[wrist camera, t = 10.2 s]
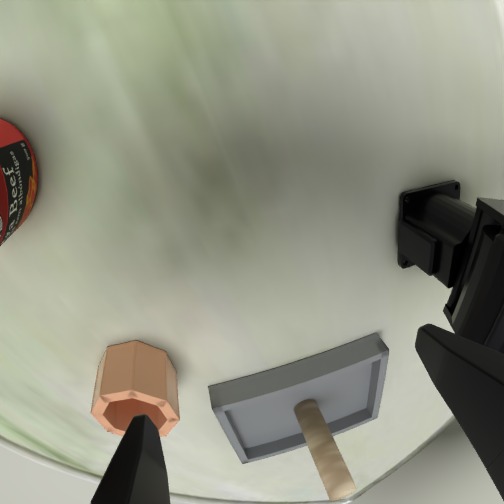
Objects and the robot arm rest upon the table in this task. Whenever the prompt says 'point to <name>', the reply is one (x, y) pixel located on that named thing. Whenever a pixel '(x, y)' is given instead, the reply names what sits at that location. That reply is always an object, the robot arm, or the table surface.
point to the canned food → (15, 179)
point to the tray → (301, 398)
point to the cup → (135, 388)
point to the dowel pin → (324, 450)
